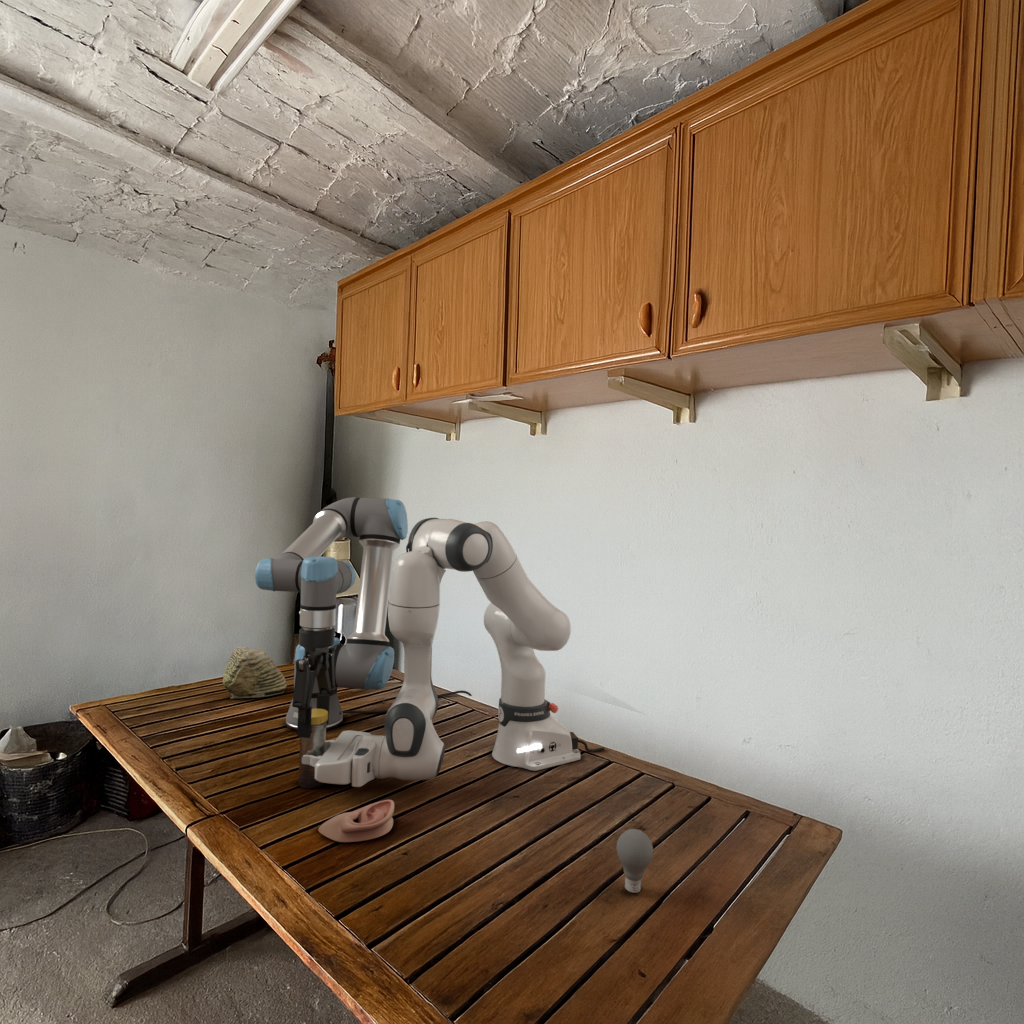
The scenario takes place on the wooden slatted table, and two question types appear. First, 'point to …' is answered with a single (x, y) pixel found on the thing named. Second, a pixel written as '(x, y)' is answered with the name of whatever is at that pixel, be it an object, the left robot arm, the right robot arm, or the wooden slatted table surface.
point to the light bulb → (634, 857)
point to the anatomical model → (360, 823)
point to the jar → (316, 748)
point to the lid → (319, 716)
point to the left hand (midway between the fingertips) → (313, 729)
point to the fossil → (252, 674)
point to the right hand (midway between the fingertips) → (308, 752)
